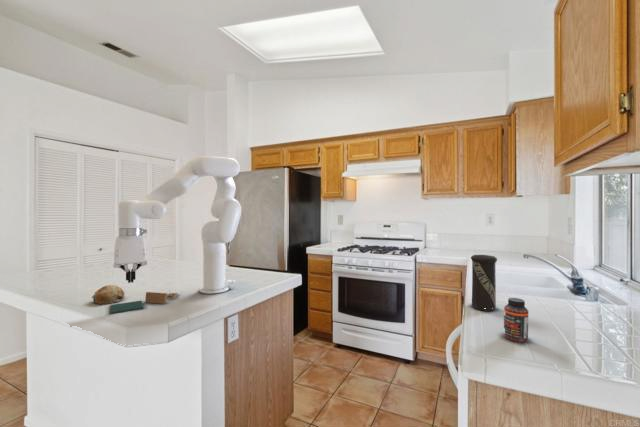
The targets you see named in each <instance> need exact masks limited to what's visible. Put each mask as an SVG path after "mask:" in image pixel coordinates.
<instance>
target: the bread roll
mask: <svg viewBox="0 0 640 427" xmlns="http://www.w3.org/2000/svg"><path fill="white" fill-rule="evenodd" d="M91 298H92V299H93V302H94V304H98V305H103V304H105V305H107V304H108V305H109V304H113V303H114V304H115V303H118V302H120V301H122V300H123V299H124V298H125V291H124V290H123V289H122V287H120V286H118V285H117V284H116V285H115V284H114V285H113V284H108V285H104V286H102V287H100V288H99V289H97V290H96V291H95V292H94V294H93V295H92V297H91Z"/></svg>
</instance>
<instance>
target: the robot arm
mask: <svg viewBox="0 0 640 427" xmlns="http://www.w3.org/2000/svg"><path fill="white" fill-rule="evenodd" d="M240 170H241V166H240V163H239V162H238V160H236V159H235V158H232V157H227V156H226V157H225V156H214V155H201V156H197V157H194V158H190V160H189V161H188V162H186V163H185V165H183V166H182V167H181V168H180V169H179V170H178V171H176V172H175V173H174V174H172V176H171V177H170V178H168V179H167V180H165V181H164V182H163V183H162V184H160V185H159V186H158V187H156V188H155V189H153V190H152V191H151V192H150V193H148V194H147V195H146V196H145V197H144V198H142V200H137V199H123V200H120V201H119V202H118V236H116V238H115V241H114V253H113V259H114V263H113V268H116V269H121V270H122V271H123V272H125V281H126V282H127V283H128V284H130V283H131V284H133V283H134V281H135V280H136V272H137V271H138V269H140V268H141V267H144V266H147V265H148V260H147V244H146V237H145V235H144V234H147V232H148V231H147V229H145V228H143V219H144V220H145V219H146V220H160V219H162V218H163V217H164V216H165V215H166V214H167V210H168V209H167V206H166V205H167V204H168V203H169V202H172V201H173V200H175V199H177V198H179V197H181V196H184V195H185V194H187V193H188V192H189V191H190V190H191V189H192V188H193V187H194V186H195V185H196V184H198V182H199V181H200V180H202V178H204V177H213V178H214V180H215V182H216V190H215V194H214V197H213V200H212V204H211V207H210V214H211V215H212V217H214V218H215V219H218V220H210V221H207V222H205V224H203V226H202V227H201V231H200V234H201V241H202V254H203V255H202V270H203V272H202V274H203V275H202V277H203V278H202V279H203V281H202V283H203V284H202V286H201V287H200V288H199V292H200V293H201V294H206V295H207V294H209V295H211V294H212V295H213V294H221V293H225V292H227V291H228V290H229V289H230V285H236V284H237V280H236V279H227V278H226V245H225V244H228V243H230V242H232V241H233V240H234V238H235V236H236V233H237V232H238V226H239V223H240V220H241V215H242V205H241V203H240V202H239V200H238V199H235V196H236V190H237V187H236V183H235V180H234V177H236V176H237V175H238V174H239V173H240ZM129 264H131V265H132V268H131V269H130V268H129Z"/></svg>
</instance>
